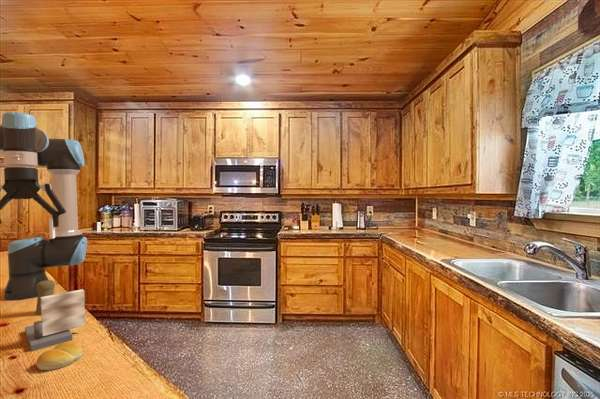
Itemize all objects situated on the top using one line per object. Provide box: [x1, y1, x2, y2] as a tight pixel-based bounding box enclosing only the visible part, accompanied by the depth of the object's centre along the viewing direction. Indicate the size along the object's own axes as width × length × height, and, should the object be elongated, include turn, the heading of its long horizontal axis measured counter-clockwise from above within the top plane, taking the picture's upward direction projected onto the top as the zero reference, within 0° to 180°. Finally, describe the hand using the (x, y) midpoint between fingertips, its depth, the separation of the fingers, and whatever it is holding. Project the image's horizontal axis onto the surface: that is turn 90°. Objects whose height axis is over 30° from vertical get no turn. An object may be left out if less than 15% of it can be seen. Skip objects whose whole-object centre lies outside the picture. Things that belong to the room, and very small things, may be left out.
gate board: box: [24, 324, 73, 352], centre depth 95 cm, size 17×9×2 cm, turn 44°
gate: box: [33, 288, 86, 338], centre depth 93 cm, size 12×3×10 cm, turn 134°
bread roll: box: [35, 341, 84, 371], centre depth 80 cm, size 8×9×4 cm
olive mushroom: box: [35, 279, 56, 316], centre depth 114 cm, size 6×6×11 cm
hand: (24, 240), depth 95 cm, fingers open, 13 cm apart
